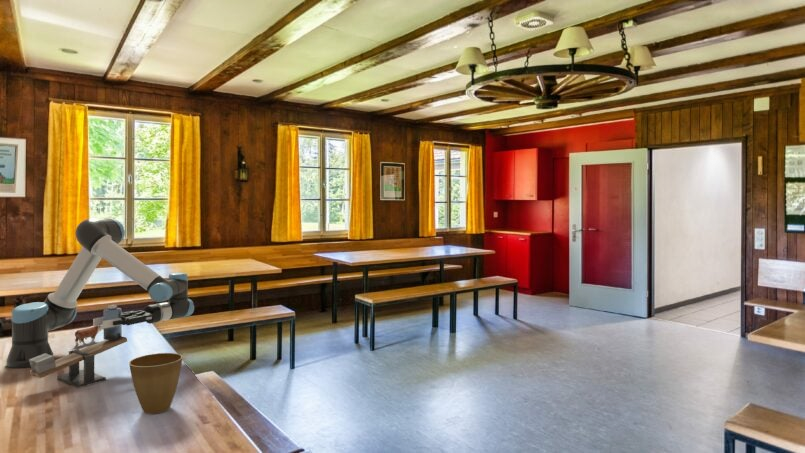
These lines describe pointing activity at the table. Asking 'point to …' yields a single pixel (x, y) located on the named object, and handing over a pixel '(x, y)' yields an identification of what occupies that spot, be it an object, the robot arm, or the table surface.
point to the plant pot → (156, 380)
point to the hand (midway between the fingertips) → (98, 323)
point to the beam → (69, 358)
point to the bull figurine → (87, 333)
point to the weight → (108, 315)
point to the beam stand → (82, 373)
